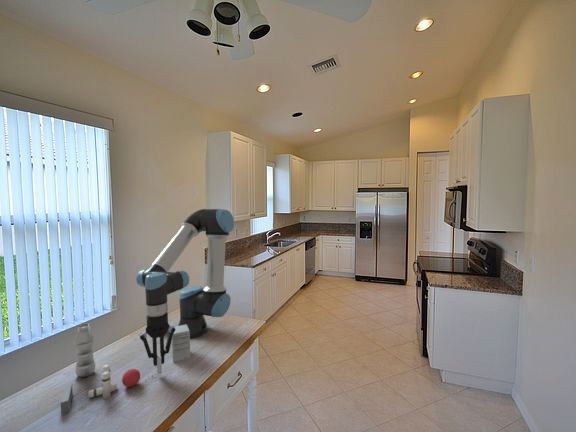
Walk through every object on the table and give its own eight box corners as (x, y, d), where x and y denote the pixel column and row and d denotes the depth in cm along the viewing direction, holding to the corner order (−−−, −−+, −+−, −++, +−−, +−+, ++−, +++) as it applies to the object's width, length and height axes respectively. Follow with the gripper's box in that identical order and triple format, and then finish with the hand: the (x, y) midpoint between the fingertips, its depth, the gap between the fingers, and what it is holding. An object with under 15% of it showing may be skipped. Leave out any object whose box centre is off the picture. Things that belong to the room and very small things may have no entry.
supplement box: (170, 354, 130) (169, 327, 129) (188, 350, 133) (187, 323, 132) (172, 362, 123) (171, 334, 122) (190, 358, 126) (189, 330, 126)
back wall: (72, 394, 103) (72, 383, 103) (68, 412, 95) (68, 400, 95) (65, 396, 102) (65, 385, 102) (61, 414, 94) (60, 402, 94)
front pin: (116, 381, 107) (88, 389, 102) (116, 385, 105) (88, 393, 100) (116, 387, 107) (89, 395, 103) (117, 391, 105) (88, 400, 101)
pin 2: (110, 393, 104) (109, 370, 103) (110, 397, 102) (109, 373, 101) (102, 395, 103) (101, 372, 102) (102, 399, 101) (101, 376, 100)
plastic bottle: (85, 380, 111) (83, 330, 110) (71, 378, 113) (68, 328, 111) (99, 370, 118) (97, 322, 116) (85, 368, 119) (83, 321, 118)
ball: (118, 375, 108) (129, 385, 110) (118, 384, 103) (130, 393, 105) (132, 362, 111) (143, 372, 113) (133, 370, 106) (144, 379, 108)
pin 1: (111, 385, 108) (110, 363, 108) (110, 389, 106) (109, 366, 106) (103, 387, 107) (102, 365, 106) (103, 391, 105) (101, 368, 104)
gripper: (138, 320, 105) (141, 382, 107) (176, 313, 112) (178, 371, 113) (137, 313, 112) (139, 372, 113) (173, 307, 118) (175, 362, 120)
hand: (159, 372), depth 113 cm, fingers closed
